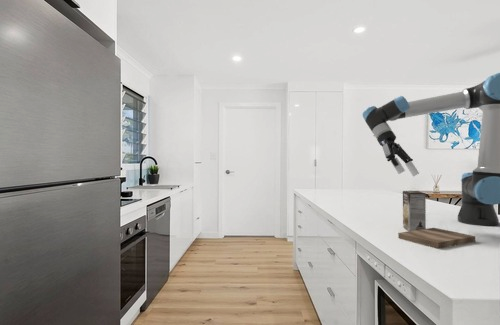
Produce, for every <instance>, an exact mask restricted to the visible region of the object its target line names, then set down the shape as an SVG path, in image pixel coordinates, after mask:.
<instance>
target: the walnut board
mask: <svg viewBox="0 0 500 325" xmlns="http://www.w3.org/2000/svg"><path fill="white" fill-rule="evenodd" d="M397 238H398V239H399V240H403V241H406V242H407V241H408V242H412V243H415V244H418V245H419V244H420V245H422V246H426V247H429V246H430V248H433V247H434V248H433V249H438V250H439V249H444V248H450V247H455V245H456V246H460V245H464V244H465V245H466V244H470V243H475V242H476V236H475V235H472V234H467V233H461V232H457V231H452V230H448V229H447V230H446V229H442V228H439V227H431V228H428V227H427V228H426V229H421V230H415V231H402V232H398V236H397Z"/></svg>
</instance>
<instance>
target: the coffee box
mask: <svg viewBox="0 0 500 325" xmlns="http://www.w3.org/2000/svg"><path fill="white" fill-rule="evenodd" d="M426 199H427V198H426V192H424V191H423V192H422V191H419V190H402V228H404V229H405V230H407V231H406V232H408V231H415V230H421V229H427V228H426V222H427V220H426V215H427V214H426V209H427V208H426V207H427V205H426V203H427V202H426Z"/></svg>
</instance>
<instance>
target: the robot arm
mask: <svg viewBox="0 0 500 325" xmlns="http://www.w3.org/2000/svg"><path fill="white" fill-rule="evenodd" d="M477 108H478V109H479V110H480V111H482V116H481V124H480V125H481V126H480V135H479V136H480V137H479V145H478V146H479V148H478V158H477V167H476V168H474V169H473V170H472V172H464V173H462V174H461V179H460V181H461V206H460V209H459V211H458V213H457V214H458V215H457V221H458V222H460V223H463V224H469V225H476V226H477V225H478V226H499V222H500V220H499V217H498V215H497V212H496V210H495V208H494V205H500V72H498V73H495V74H492V75H490V76H489V77H487V78H486V79H485V80H484V81H482V82H480V83H478V84H477V85H474V86H472V87H468V88H467V87H466V88H463V89H462V91H458V92H454V93H448V94H442V95H438V96H433V97H428V98H423V99H417V100H412V101H408V100H407V99H406V98H405V97H404V96H402V95H400V96H398V97H395V98H393V99H392V100H391V101H388V102H387V103H385V104H383V105H381V106H379V107H376V106H375V105H373V106H368V107H366V109H364V110H363V112H362V117H363V119H364V122H365V123H366V125H367V127H368V128H369V129H370V131H371V133H372V134H373V137H375V139H376V141H377V142H378V144H379V146H381V147H382V150H383V152H384V153H383V154H384V156H385V159H386V160H387V162H391V164H392V166H393V168H394V170H396V172H397V174H398V175H400V174H401V173H403V172H405V171H406V169H405V168H404V166H403V165H402V163H401V162H400V161H399V159H398V157H399V158H400V159H401V161H403V162H404V163H405V164H404V165H405V166H406V168H407V169H408V171H409V172H410V174H411V175H412V177H415V176H418V175H419V174H420V171H419V170H418V169H417V167H416V166H415V164H414V163H413V162H414V159H413V158H411V157H410V155H409V154H408V153H407V152H406V151H405V150H404V149H403V147H402V146H401V145H400V143H397V142H395V141H396V140H397V135H396V134H395V132H393V131H392V128H391V127H390V125H389V124H388V123H387V122H388V121H390V122H393V121H396V120H400V119H405V118H412V117H416V116H423V115H427V114H429V115H430V114H435V113H439V112H440V113H441V112H446V111H452V110H458V109H466V110H471V109H477ZM396 155H397V157H396ZM412 161H413V162H412Z"/></svg>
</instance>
